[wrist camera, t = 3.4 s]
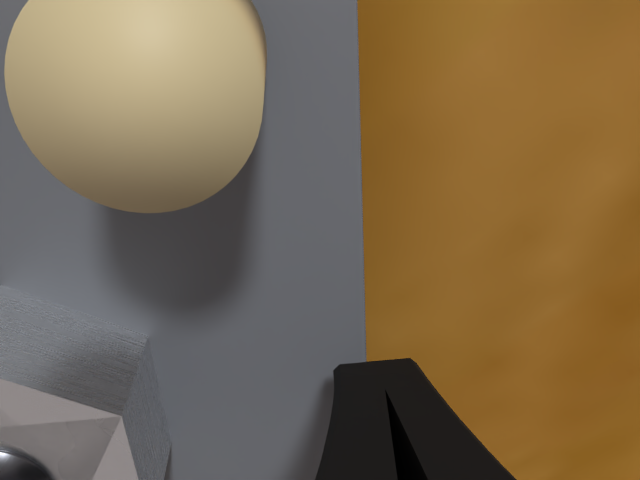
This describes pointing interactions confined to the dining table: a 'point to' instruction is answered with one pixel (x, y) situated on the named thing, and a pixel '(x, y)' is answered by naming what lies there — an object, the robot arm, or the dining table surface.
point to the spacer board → (196, 205)
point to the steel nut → (76, 396)
